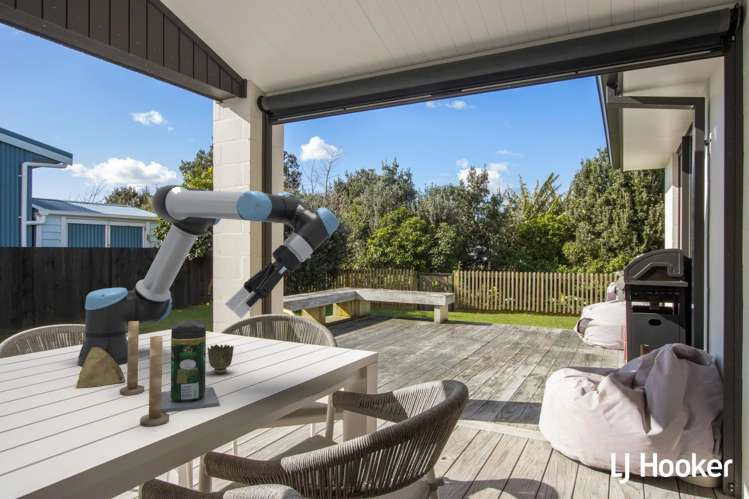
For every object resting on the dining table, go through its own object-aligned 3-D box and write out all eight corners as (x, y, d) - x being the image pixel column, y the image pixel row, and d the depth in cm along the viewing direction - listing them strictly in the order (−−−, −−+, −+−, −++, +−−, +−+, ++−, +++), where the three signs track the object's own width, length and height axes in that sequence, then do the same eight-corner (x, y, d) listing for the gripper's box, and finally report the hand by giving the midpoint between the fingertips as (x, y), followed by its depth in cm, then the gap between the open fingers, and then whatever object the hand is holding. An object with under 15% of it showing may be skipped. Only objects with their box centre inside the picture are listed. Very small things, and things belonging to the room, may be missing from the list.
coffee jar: (173, 392, 119) (174, 318, 119) (206, 390, 121) (207, 317, 122) (167, 404, 110) (168, 324, 110) (203, 402, 112) (204, 323, 112)
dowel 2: (134, 425, 98) (136, 338, 99) (149, 416, 104) (151, 334, 104) (160, 427, 98) (161, 339, 98) (174, 417, 104) (175, 335, 104)
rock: (134, 370, 134) (101, 364, 135) (128, 350, 129) (93, 344, 130) (113, 402, 126) (77, 396, 126) (105, 382, 121) (67, 376, 121)
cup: (225, 377, 137) (225, 349, 137) (202, 375, 139) (202, 348, 139) (237, 371, 144) (238, 344, 144) (215, 369, 146) (216, 343, 146)
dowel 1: (114, 394, 119) (116, 322, 119) (128, 388, 125) (129, 319, 125) (136, 395, 118) (137, 323, 119) (148, 389, 124) (150, 320, 124)
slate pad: (159, 412, 106) (159, 409, 106) (158, 395, 119) (158, 392, 119) (219, 405, 112) (219, 402, 112) (212, 389, 125) (212, 386, 125)
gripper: (315, 265, 118) (252, 329, 111) (289, 261, 140) (235, 314, 134) (295, 243, 115) (229, 306, 109) (271, 243, 138) (216, 295, 132)
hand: (232, 311), depth 122 cm, fingers open, 13 cm apart
